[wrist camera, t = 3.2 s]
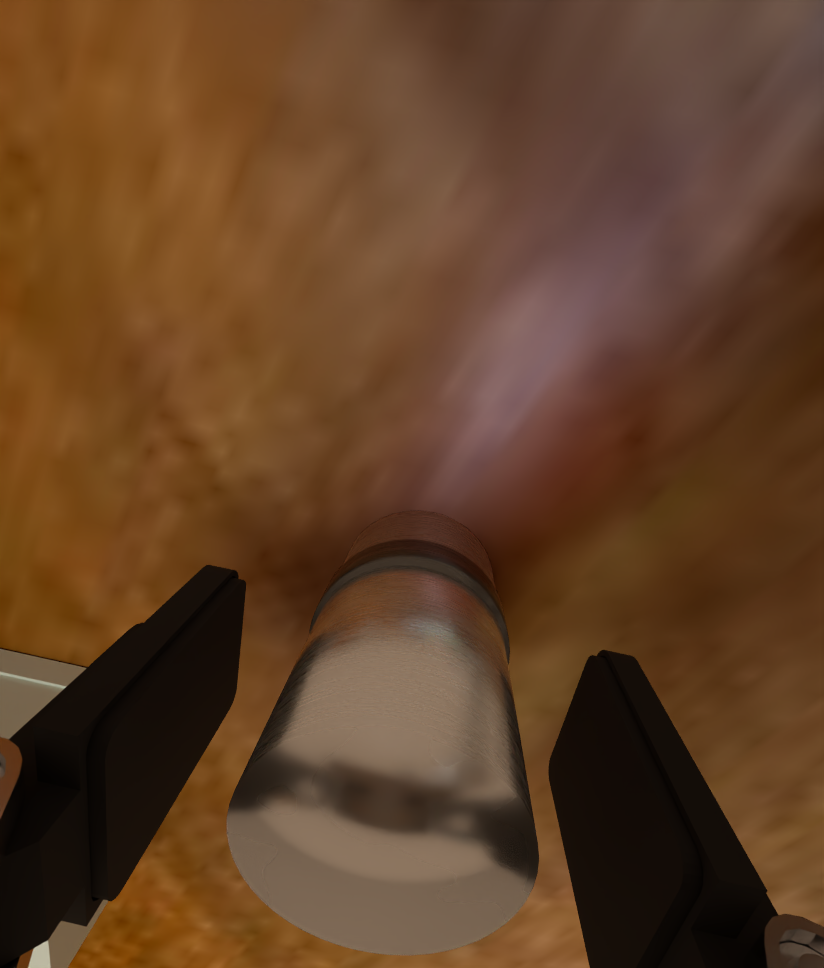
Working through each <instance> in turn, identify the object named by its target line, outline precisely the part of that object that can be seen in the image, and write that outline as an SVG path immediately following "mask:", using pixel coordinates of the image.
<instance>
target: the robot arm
mask: <svg viewBox="0 0 824 968" xmlns="http://www.w3.org/2000/svg"><path fill="white" fill-rule="evenodd" d="M245 591H246V583H245V581H244V580H241V579H238V572H237V571H235V570H231V569H226V568H221V567H217V566H212V565H206V566H205V567H203V568H202V569H201V570H200V571H199V572H198V573H197V574H196V575H195V576H194V577H193V578H191V579H190V580H189V581H188V582H187V583H186V584H185V585H184V586H183V587H182V588H181V589H180V590H179V591H178V592H176V593H175V594H174V595H173V596H172V597H171V598H170V599H169V600H168V601H167V602H166V603H165V604H164V605H163V606H161V607H160V608H159V609H158V610H157V611H156V612H155V613H154V614H153V615H152V616H151V617H150V618H149V619H147V620H146V621H145V622H144V623H140V624H136V625H135V626H133V627H132V628H131V629H129V630H128V631H127V632H126V633H125V634H124V635H123V636H122V637H120V638H119V639H118V640H117V641H116V642H115V643H114V644H113V645H112V646H111V647H109V648H108V649H107V650H106V651H105V652H104V653H103V654H102V655H101V656H100V657H98V658H97V659H96V660H95V661H94V662H93V663H92V664H91V665H90V666H89V667H87V668H86V669H85V670H84V671H83V672H82V673H81V674H80V675H79V676H78V677H76V678H75V679H74V680H73V681H72V682H71V683H70V684H69V685H68V686H67V687H66V688H64V689H63V690H62V691H61V692H60V693H59V694H58V695H57V696H56V697H55V698H53V699H52V700H51V701H50V702H49V703H48V704H47V705H46V706H45V707H44V708H42V709H41V710H40V711H39V712H38V713H37V714H36V715H35V716H34V717H33V718H31V719H30V720H29V721H28V722H27V723H26V724H25V725H24V726H23V727H22V728H20V729H19V730H18V731H17V732H16V733H15V734H14V735H13V736H12V737H11V738H9V739H6V738H2V737H0V968H28V966H29V963H30V959H31V956H32V952H33V949H34V948H35V947H37V946H39V945H41V944H42V943H44V942H46V941H48V940H49V938H50V937H51V935H52V934H53V932H54V931H55V929H56V928H57V926H58V925H59V923H60V922H61V921H64V922H68V923H73V924H77V925H81V926H86V927H87V925H88V924H89V922H90V920H91V919H92V917H93V916H94V914H95V912H96V911H97V909H98V908H99V906H100V904H101V903H102V901H103V900H108V901H112V900H114V899H115V898H116V897H117V896H118V894H119V893H120V892H121V890H122V889H123V887H124V885H125V884H126V882H127V880H128V879H129V877H130V875H131V874H132V872H133V870H134V869H135V867H136V865H137V864H138V862H139V860H140V859H141V857H142V855H143V854H144V852H145V850H146V849H147V847H148V845H149V844H150V842H151V840H152V839H153V837H154V835H155V834H156V832H157V830H158V828H159V827H160V825H161V823H162V822H163V820H164V818H165V817H166V815H167V813H168V812H169V810H170V808H171V807H172V805H173V803H174V802H175V800H176V798H177V797H178V795H179V793H180V792H181V790H182V788H183V787H184V785H185V783H186V782H187V780H188V778H189V776H190V775H191V773H192V771H193V770H194V768H195V766H196V765H197V763H198V761H199V760H200V758H201V756H202V755H203V753H204V751H205V750H206V748H207V746H208V745H209V743H210V741H211V740H212V738H213V736H214V735H215V733H216V731H217V730H218V728H219V726H220V724H221V723H222V721H223V719H224V718H225V716H226V714H227V713H228V711H229V709H230V707H231V705H232V703H233V700H234V698H235V694H236V689H237V679H238V668H239V657H240V646H241V635H242V624H243V613H244V602H245ZM549 781H550V786H551V790H552V795H553V799H554V804H555V809H556V813H557V818H558V822H559V827H560V832H561V836H562V841H563V846H564V850H565V855H566V859H567V864H568V869H569V873H570V878H571V882H572V887H573V892H574V896H575V901H576V905H577V910H578V915H579V919H580V924H581V928H582V933H583V938H584V942H585V947H586V952H587V956H588V961H589V965H590V968H824V927H822V926H820V925H818V924H816V923H814V922H812V921H810V920H808V919H805V918H803V917H799V916H794V915H789V914H782V915H778V914H777V912H776V910H775V908H774V907H773V905H772V903H771V901H770V899H769V898H768V896H767V894H766V892H767V889H766V888H765V886H764V884H763V882H762V880H761V879H760V877H759V875H758V873H757V872H756V870H755V868H754V866H753V865H752V863H751V861H750V859H749V858H748V856H747V854H746V852H745V850H744V849H743V847H742V845H741V843H740V842H739V840H738V838H737V836H736V835H735V833H734V831H733V829H732V827H731V826H730V824H729V822H728V820H727V819H726V817H725V815H724V813H723V812H722V810H721V808H720V806H719V805H718V803H717V801H716V799H715V797H714V796H713V794H712V792H711V790H710V789H709V787H708V785H707V783H706V782H705V780H704V778H703V776H702V774H701V773H700V771H699V769H698V767H697V766H696V764H695V762H694V760H693V759H692V757H691V755H690V753H689V752H688V750H687V748H686V746H685V744H684V743H683V741H682V739H681V737H680V736H679V734H678V732H677V730H676V729H675V727H674V725H673V723H672V721H671V720H670V718H669V716H668V714H667V713H666V711H665V709H664V707H663V706H662V704H661V702H660V700H659V699H658V697H657V695H656V693H655V691H654V690H653V688H652V686H651V684H650V683H649V681H648V679H647V677H646V676H645V674H644V672H643V670H642V669H641V667H640V665H639V663H638V661H637V660H636V659H635V658H634V657H633V656H630V655H625V654H620V653H616V652H611V651H607V650H602V651H600V652H599V653H598V655H597V656H593V655H592V656H590V657H589V658H588V660H587V662H586V664H585V667H584V670H583V672H582V675H581V678H580V680H579V683H578V686H577V688H576V691H575V694H574V696H573V699H572V702H571V704H570V707H569V710H568V712H567V715H566V717H565V720H564V723H563V725H562V728H561V731H560V733H559V736H558V739H557V741H556V744H555V747H554V749H553V752H552V755H551V758H550V761H549Z"/></svg>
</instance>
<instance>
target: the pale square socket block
mask: <svg viewBox="0 0 824 968" xmlns="http://www.w3.org/2000/svg"><path fill="white" fill-rule="evenodd" d="M85 669H86V668H85V667H80V666H76V665H71V664H67V663H62V662H58V661H53V660H49V659H44V658H39V657H35V656H30V655H26V654H21V653H17V652H12V651H8V650H3V649H0V737H2V738H6V739H9V738H11V737H12V736H13V735H14V734H15V733H16V732H17V731H18V730H19V729H20V728H22V727H23V726H24V725H25V724H26V723H27V722H28V721H29V720H30V719H31V718H33V717H34V716H35V715H36V714H37V713H38V712H39V711H40V710H41V709H42V708H44V707H45V706H46V705H47V704H48V703H49V702H50V701H51V700H52V699H53V698H55V697H56V696H57V695H58V694H59V693H60V692H61V691H62V690H63V689H64V688H66V687H67V686H68V685H69V684H70V683H71V682H72V681H73V680H74V679H75V678H76V677H78V676H79V675H80V674H81V673H82V672H83V671H84V670H85ZM107 902H108V900H103V901H102V903H101V904H100V906H99V908H98V909H97V911H96V912H95V914H94V916H93V917H92V919H91V920H90V922H89V924H88V925H87V927H86V926H81V925H77V924H73V923H68V922H64V921H61V922H60V923H59V925H58V926H57V928H56V929H55V931H54V932H53V934H52V935H51V937H50V938H49V940H48V941H46V942H44V943H42V944H41V945H39V946H37V947H35V948H34V949H33V952H32V956H31V959H30V963H29V966H28V968H68V966H69V964H70V963H71V961H72V959H73V958H74V956H75V954H76V953H77V951H78V950H79V948H80V946H81V945H82V943H83V941H84V940H85V938H86V936H87V935H88V933H89V932H90V930H91V928H92V927H93V925H94V923H95V922H96V920H97V918H98V917H99V915H100V913H101V912H102V910H103V909H104V907H105V905H106V904H107Z"/></svg>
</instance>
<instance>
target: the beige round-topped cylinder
mask: <svg viewBox="0 0 824 968" xmlns="http://www.w3.org/2000/svg"><path fill="white" fill-rule="evenodd" d="M509 655H510V647H509V638H508V632H507V627H506V621H505V616H504V611H503V607H502V603H501V600H500V597H499V595H498V592H497V590H496V588H495V584H494V578H493V572H492V567H491V563H490V560H489V557H488V555H487V552H486V551H485V549H484V547H483V545H482V544H481V543H480V541H479V540H478V539H477V537H476V536H475V535H474V534H473V533H472V532H471V531H470V530H468V529H467V528H466V527H464V526H463V525H462V524H460V523H458V522H457V521H455V520H453V519H451V518H449V517H446V516H444V515H441V514H437V513H434V512H427V511H404V512H399V513H394V514H391V515H388V516H386V517H383V518H381V519H379V520H377V521H376V522H374V523H373V524H371V525H370V526H368V527H367V528H366V529H365V530H364V531H363V532H362V533H361V534H360V535H359V536H358V538H357V539H356V540H355V542H354V544H353V545H352V547H351V549H350V551H349V553H348V555H347V557H346V559H345V561H344V563H343V565H342V566H341V567H340V568H339V569H338V571H337V572H336V573H335V574H334V576H333V578H332V579H331V581H330V583H329V584H328V586H327V588H326V590H325V592H324V594H323V596H322V598H321V600H320V602H319V605H318V607H317V609H316V611H315V613H314V616H313V619H312V622H311V627H310V634H309V636H308V639H307V641H306V643H305V645H304V647H303V649H302V651H301V653H300V655H299V657H298V659H297V661H296V664H295V666H294V668H293V670H292V672H291V674H290V676H289V678H288V680H287V682H286V684H285V687H284V689H283V691H282V693H281V695H280V697H279V699H278V701H277V703H276V705H275V707H274V709H273V712H272V714H271V716H270V718H269V720H268V722H267V724H266V726H265V728H264V730H263V732H262V735H261V737H260V739H259V741H258V743H257V745H256V747H255V749H254V751H253V753H252V755H251V757H250V760H249V762H248V764H247V766H246V768H245V770H244V772H243V774H242V776H241V778H240V780H239V782H238V785H237V787H236V789H235V791H234V794H233V796H232V799H231V801H230V804H229V809H228V815H227V836H228V842H229V847H230V850H231V853H232V856H233V859H234V862H235V864H236V866H237V868H238V869H239V871H240V873H241V875H242V877H243V878H244V879H245V881H246V882H247V884H248V885H249V887H250V888H251V889H252V890H253V891H254V892H255V893H256V895H257V896H258V897H259V898H260V899H261V900H262V901H263V902H264V903H265V904H266V905H268V906H269V907H270V908H271V909H272V910H273V911H274V912H276V913H277V914H278V915H280V916H281V917H283V918H284V919H285V920H287V921H288V922H290V923H292V924H293V925H295V926H297V927H298V928H300V929H302V930H303V931H306V932H308V933H310V934H312V935H314V936H316V937H318V938H321V939H323V940H326V941H329V942H331V943H334V944H337V945H340V946H344V947H348V948H351V949H355V950H360V951H365V952H371V953H378V954H388V955H421V954H431V953H437V952H443V951H448V950H452V949H455V948H459V947H463V946H465V945H468V944H470V943H473V942H475V941H478V940H480V939H482V938H484V937H486V936H488V935H489V934H491V933H493V932H495V931H496V930H497V929H499V928H500V927H502V926H503V925H504V924H506V923H507V922H508V921H509V920H510V919H511V918H512V917H513V916H514V915H515V914H516V913H517V912H518V911H519V910H520V908H521V907H522V906H523V904H524V903H525V902H526V900H527V898H528V896H529V894H530V892H531V890H532V889H533V886H534V883H535V879H536V876H537V872H538V862H539V853H538V842H537V836H536V830H535V824H534V818H533V812H532V806H531V800H530V794H529V788H528V782H527V776H526V770H525V764H524V758H523V752H522V746H521V740H520V734H519V728H518V722H517V716H516V710H515V704H514V698H513V692H512V686H511V680H510V674H509V668H508V664H509Z"/></svg>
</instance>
